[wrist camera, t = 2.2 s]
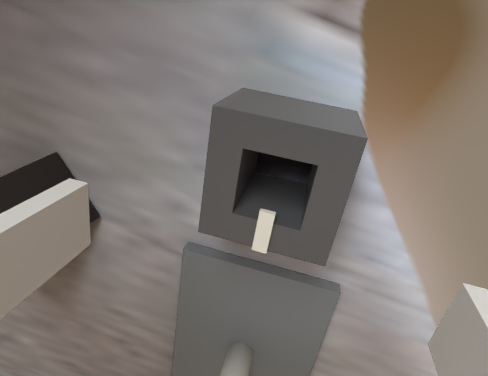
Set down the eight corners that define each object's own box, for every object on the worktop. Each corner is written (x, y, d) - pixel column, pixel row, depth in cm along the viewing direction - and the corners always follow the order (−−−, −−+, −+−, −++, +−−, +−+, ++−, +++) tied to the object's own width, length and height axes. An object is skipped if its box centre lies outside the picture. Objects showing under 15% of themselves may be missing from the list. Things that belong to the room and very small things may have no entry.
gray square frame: (242, 87, 21) (210, 106, 15) (357, 111, 20) (368, 140, 14) (227, 188, 24) (196, 234, 18) (325, 212, 23) (324, 269, 17)
